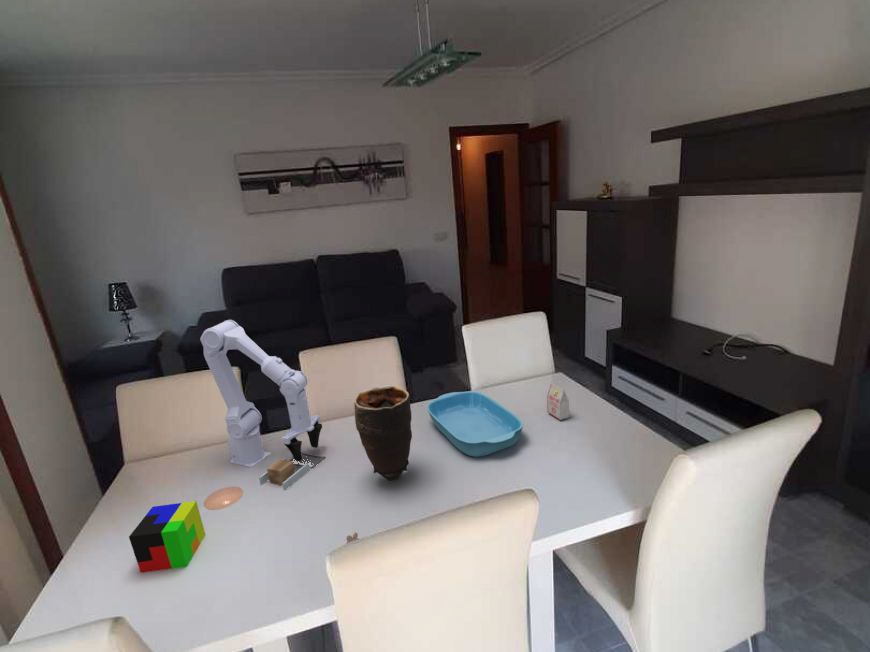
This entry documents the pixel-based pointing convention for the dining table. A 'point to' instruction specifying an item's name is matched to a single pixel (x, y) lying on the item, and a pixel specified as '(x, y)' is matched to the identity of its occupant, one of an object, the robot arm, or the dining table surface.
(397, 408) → the clay pot
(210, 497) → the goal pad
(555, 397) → the milk carton
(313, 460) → the tray
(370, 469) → the dining table surface
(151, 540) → the puzzle toy
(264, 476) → the grey parallel rails
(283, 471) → the walnut block
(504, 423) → the casserole dish
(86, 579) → the dining table surface
